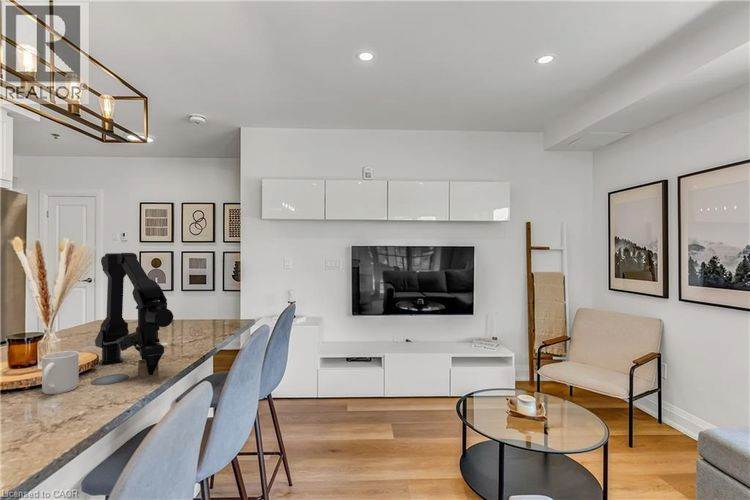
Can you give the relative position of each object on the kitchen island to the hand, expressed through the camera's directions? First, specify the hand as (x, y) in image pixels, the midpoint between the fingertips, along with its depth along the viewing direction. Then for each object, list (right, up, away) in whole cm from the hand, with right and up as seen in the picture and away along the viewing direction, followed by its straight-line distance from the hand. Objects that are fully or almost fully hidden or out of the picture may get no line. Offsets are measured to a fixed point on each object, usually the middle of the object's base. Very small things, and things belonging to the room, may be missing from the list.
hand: (148, 371), depth 125 cm
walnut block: (0, -1, 0) cm, 1 cm away
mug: (-18, -2, -14) cm, 23 cm away
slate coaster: (-10, -1, -4) cm, 11 cm away
